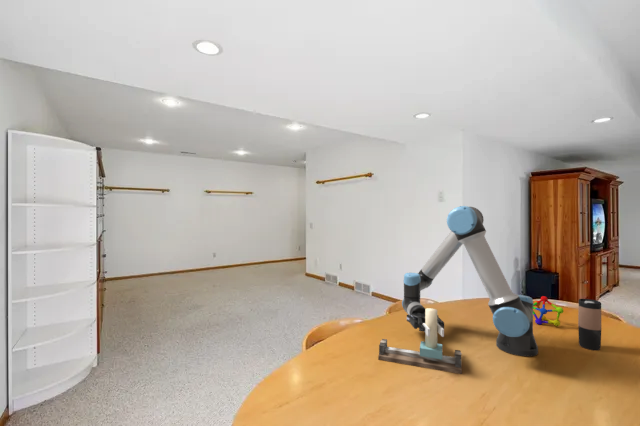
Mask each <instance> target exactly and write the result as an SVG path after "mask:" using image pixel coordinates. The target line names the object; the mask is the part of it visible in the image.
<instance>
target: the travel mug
mask: <svg viewBox="0 0 640 426" xmlns="http://www.w3.org/2000/svg"><path fill="white" fill-rule="evenodd" d="M577 312H578V314H577V316H578V318H577V319H578V321H577V325H578V328H577V329H578V330H577V331H578V332H577V333H578V345H579V347H580V348H583V349H585V350H589V351H598V352H599V351H600V350H601V347H602V346H601V345H602V344H601V343H602V302H601V301H599V300H596V299H590V298H579V299H578V311H577Z"/></svg>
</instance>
